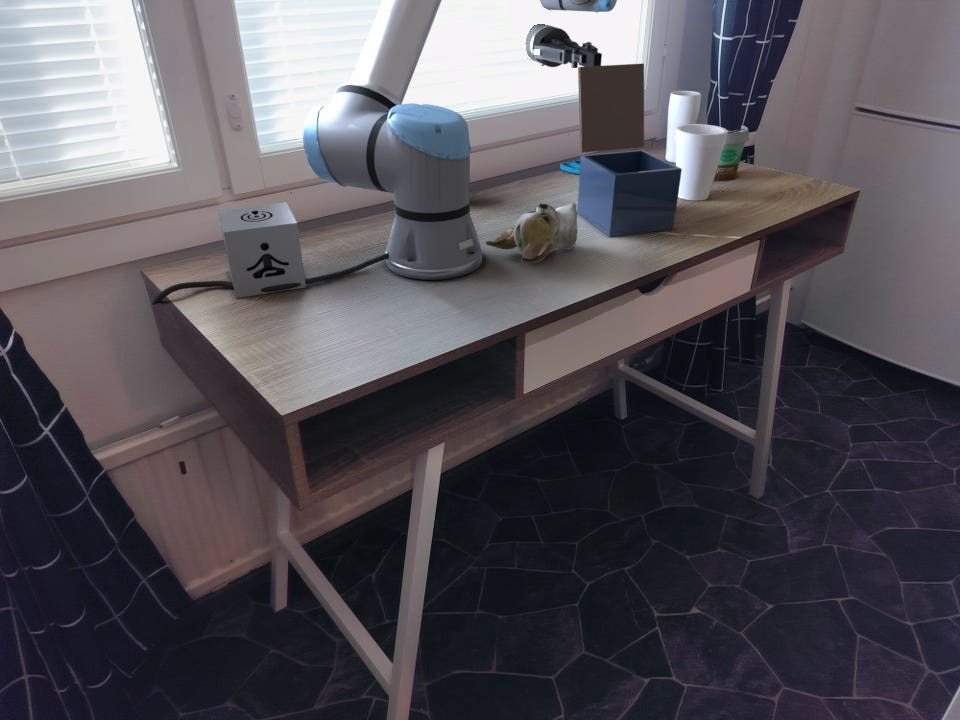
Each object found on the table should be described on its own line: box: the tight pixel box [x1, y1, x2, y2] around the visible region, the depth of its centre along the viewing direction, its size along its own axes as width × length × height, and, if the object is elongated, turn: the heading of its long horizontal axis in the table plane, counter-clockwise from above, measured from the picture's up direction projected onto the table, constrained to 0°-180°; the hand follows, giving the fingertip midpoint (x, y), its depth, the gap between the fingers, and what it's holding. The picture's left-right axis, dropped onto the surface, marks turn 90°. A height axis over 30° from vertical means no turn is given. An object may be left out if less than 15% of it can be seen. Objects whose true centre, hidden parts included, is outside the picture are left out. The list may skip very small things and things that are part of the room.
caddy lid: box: [577, 62, 645, 153], centre depth 128 cm, size 14×13×1 cm
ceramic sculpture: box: [485, 202, 578, 264], centre depth 115 cm, size 11×9×15 cm
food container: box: [713, 124, 750, 181], centre depth 152 cm, size 12×6×10 cm, turn 111°
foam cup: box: [675, 123, 728, 202], centre depth 140 cm, size 10×9×13 cm
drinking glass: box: [665, 90, 702, 164], centre depth 162 cm, size 7×7×15 cm
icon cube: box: [217, 201, 307, 299], centre depth 106 cm, size 10×10×10 cm
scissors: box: [559, 159, 581, 175], centre depth 155 cm, size 7×1×20 cm
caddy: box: [576, 149, 682, 238], centre depth 128 cm, size 14×13×11 cm
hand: (597, 61), depth 131 cm, fingers closed
